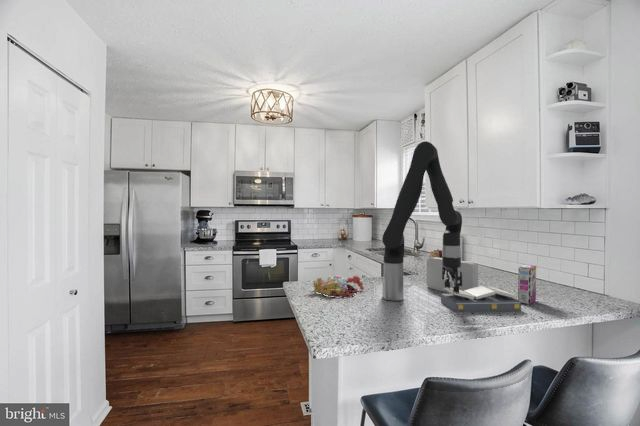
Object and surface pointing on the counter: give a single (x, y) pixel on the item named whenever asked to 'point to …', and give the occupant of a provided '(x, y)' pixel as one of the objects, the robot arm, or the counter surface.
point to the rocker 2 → (480, 292)
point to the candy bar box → (527, 284)
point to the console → (481, 303)
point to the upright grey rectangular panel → (437, 283)
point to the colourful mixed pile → (337, 286)
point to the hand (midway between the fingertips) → (451, 292)
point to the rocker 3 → (502, 292)
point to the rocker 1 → (461, 293)
